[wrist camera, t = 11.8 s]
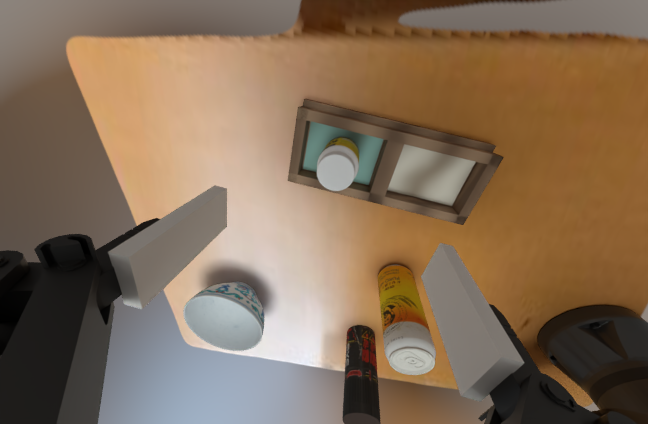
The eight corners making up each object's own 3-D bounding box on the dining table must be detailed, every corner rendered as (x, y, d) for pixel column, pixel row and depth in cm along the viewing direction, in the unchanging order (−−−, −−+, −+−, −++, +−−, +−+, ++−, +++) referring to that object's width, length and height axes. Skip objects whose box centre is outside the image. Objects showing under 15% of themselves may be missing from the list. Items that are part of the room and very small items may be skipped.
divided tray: (491, 143, 29) (507, 150, 26) (450, 216, 34) (460, 229, 31) (305, 99, 30) (299, 99, 26) (293, 177, 35) (286, 186, 32)
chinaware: (250, 257, 44) (230, 287, 37) (288, 310, 49) (276, 345, 42) (194, 275, 48) (166, 305, 41) (234, 322, 54) (215, 355, 47)
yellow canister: (390, 256, 39) (406, 339, 26) (420, 272, 40) (450, 361, 27) (370, 278, 42) (376, 363, 29) (398, 292, 43) (416, 382, 29)
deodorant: (373, 344, 50) (378, 433, 37) (346, 341, 51) (342, 427, 38) (376, 327, 48) (382, 416, 34) (347, 323, 48) (343, 410, 35)
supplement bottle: (336, 128, 29) (329, 140, 22) (366, 149, 30) (368, 167, 23) (317, 158, 32) (304, 178, 24) (345, 177, 32) (341, 202, 25)
